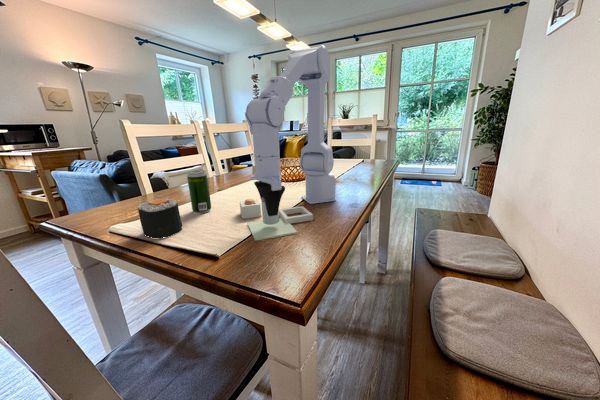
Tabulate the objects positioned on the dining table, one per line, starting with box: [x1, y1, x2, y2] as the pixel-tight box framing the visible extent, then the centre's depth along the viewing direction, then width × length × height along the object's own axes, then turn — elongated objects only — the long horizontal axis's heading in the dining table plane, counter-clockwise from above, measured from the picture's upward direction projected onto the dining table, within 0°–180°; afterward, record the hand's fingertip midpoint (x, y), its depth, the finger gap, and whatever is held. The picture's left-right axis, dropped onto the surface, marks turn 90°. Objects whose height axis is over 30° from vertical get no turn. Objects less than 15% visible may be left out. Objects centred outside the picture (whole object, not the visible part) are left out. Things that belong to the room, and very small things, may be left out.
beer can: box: [186, 169, 212, 215], centre depth 73 cm, size 5×5×12 cm
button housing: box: [239, 199, 262, 219], centre depth 70 cm, size 5×5×4 cm
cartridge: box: [260, 197, 280, 225], centre depth 60 cm, size 4×4×6 cm
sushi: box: [136, 198, 183, 239], centre depth 60 cm, size 8×8×8 cm
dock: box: [279, 205, 314, 225], centre depth 68 cm, size 8×8×2 cm
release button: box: [244, 198, 255, 205], centre depth 70 cm, size 2×2×2 cm
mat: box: [247, 217, 298, 242], centre depth 61 cm, size 10×10×1 cm
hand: (270, 212), depth 60 cm, fingers closed on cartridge, 4 cm apart
